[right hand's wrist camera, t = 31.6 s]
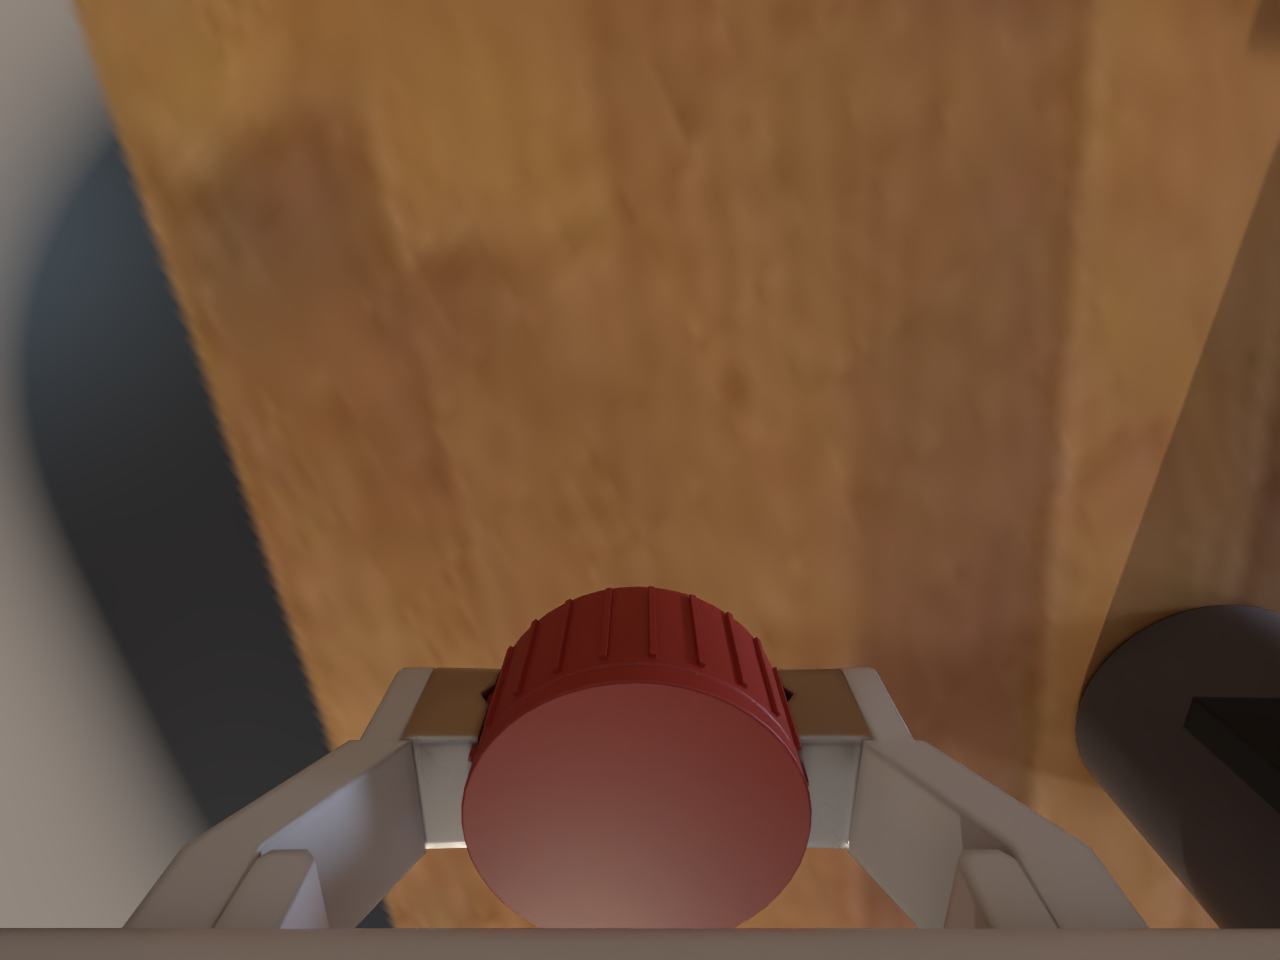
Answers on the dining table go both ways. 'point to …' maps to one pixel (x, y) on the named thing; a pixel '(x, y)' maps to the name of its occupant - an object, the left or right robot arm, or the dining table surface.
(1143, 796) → the bottle
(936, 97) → the dining table surface
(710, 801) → the cap
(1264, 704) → the left robot arm
